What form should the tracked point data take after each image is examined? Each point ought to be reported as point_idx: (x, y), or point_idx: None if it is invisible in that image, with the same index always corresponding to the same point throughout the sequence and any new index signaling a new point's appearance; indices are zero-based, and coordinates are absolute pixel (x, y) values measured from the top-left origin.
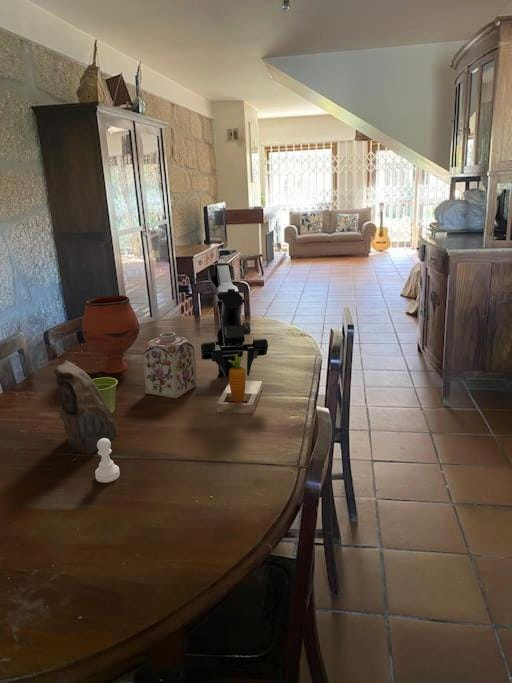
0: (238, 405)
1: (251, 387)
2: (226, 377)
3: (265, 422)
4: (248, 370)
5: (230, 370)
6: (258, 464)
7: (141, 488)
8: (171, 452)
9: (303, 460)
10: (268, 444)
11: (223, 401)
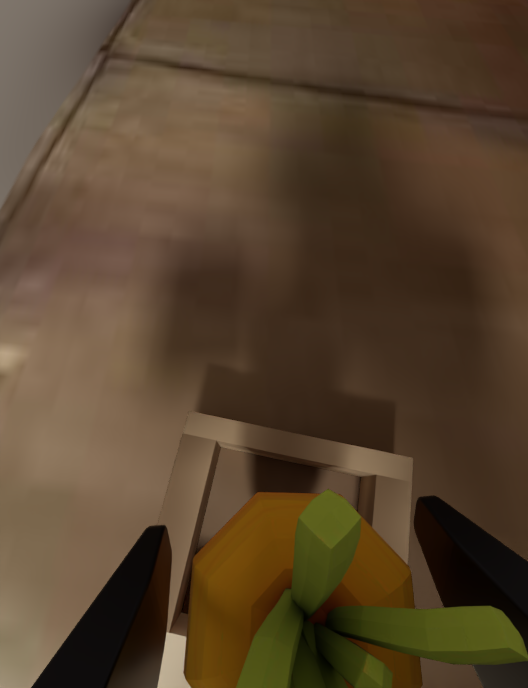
0: (275, 431)
1: None
2: (416, 517)
3: (149, 315)
4: (141, 560)
5: (399, 578)
6: (217, 70)
7: (506, 22)
8: (494, 146)
9: (83, 73)
10: (170, 155)
11: (375, 489)
